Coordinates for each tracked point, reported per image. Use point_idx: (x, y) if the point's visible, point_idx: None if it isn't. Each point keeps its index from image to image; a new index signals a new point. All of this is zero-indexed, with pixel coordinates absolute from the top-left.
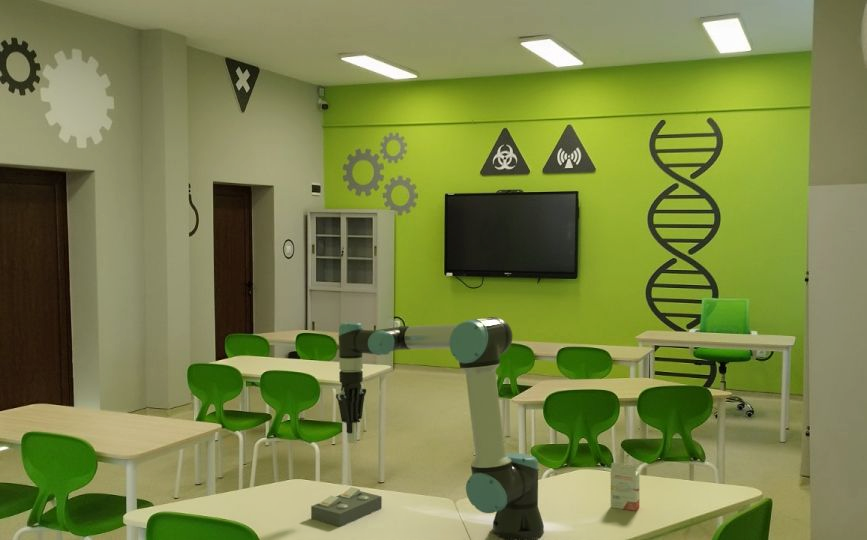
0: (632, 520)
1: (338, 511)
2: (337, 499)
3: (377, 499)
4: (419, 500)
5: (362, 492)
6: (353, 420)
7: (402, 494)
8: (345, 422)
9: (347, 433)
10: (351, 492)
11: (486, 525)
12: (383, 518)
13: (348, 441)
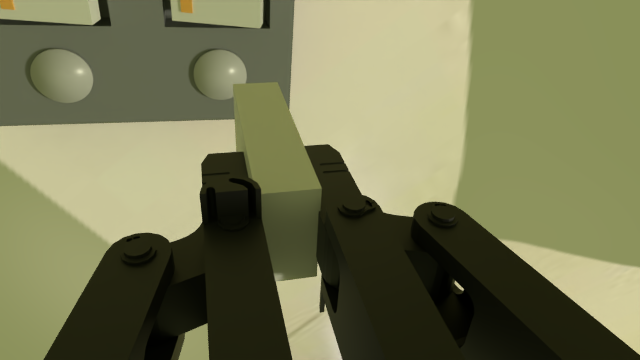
0: None
1: (6, 100)
2: (79, 22)
3: None
4: (418, 144)
5: (284, 15)
6: (320, 256)
7: (455, 59)
8: (214, 205)
9: (240, 125)
10: (217, 4)
11: (323, 355)
12: (201, 163)
13: (234, 100)
